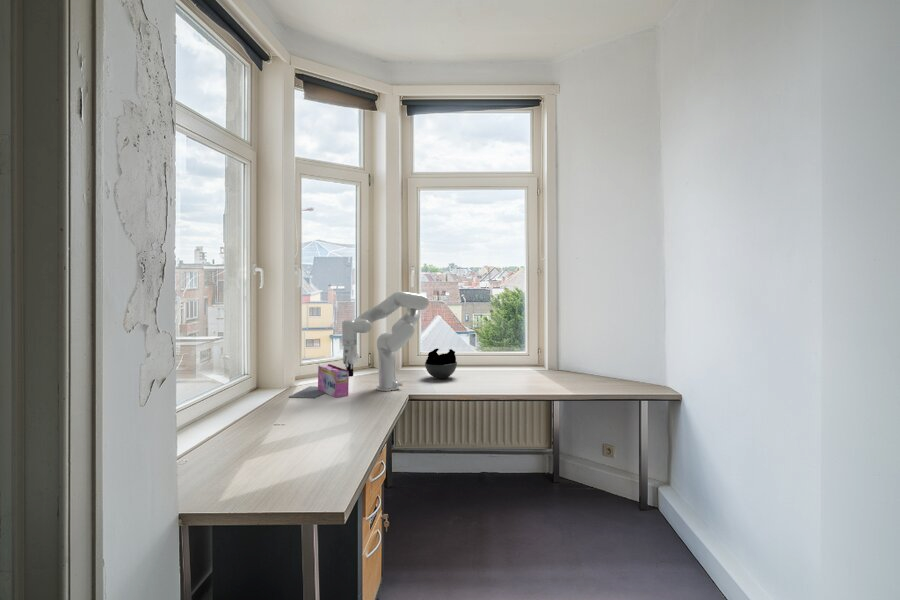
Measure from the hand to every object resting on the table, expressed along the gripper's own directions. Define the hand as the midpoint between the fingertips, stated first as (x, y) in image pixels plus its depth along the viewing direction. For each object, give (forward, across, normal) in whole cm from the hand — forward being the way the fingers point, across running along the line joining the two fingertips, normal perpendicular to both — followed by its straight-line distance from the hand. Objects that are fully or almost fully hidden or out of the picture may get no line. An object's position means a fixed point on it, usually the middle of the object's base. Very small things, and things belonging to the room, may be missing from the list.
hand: (350, 376), depth 275 cm
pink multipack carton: (+10, 0, +10) cm, 14 cm away
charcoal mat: (+10, 0, +22) cm, 24 cm away
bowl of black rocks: (+10, +46, -42) cm, 63 cm away
